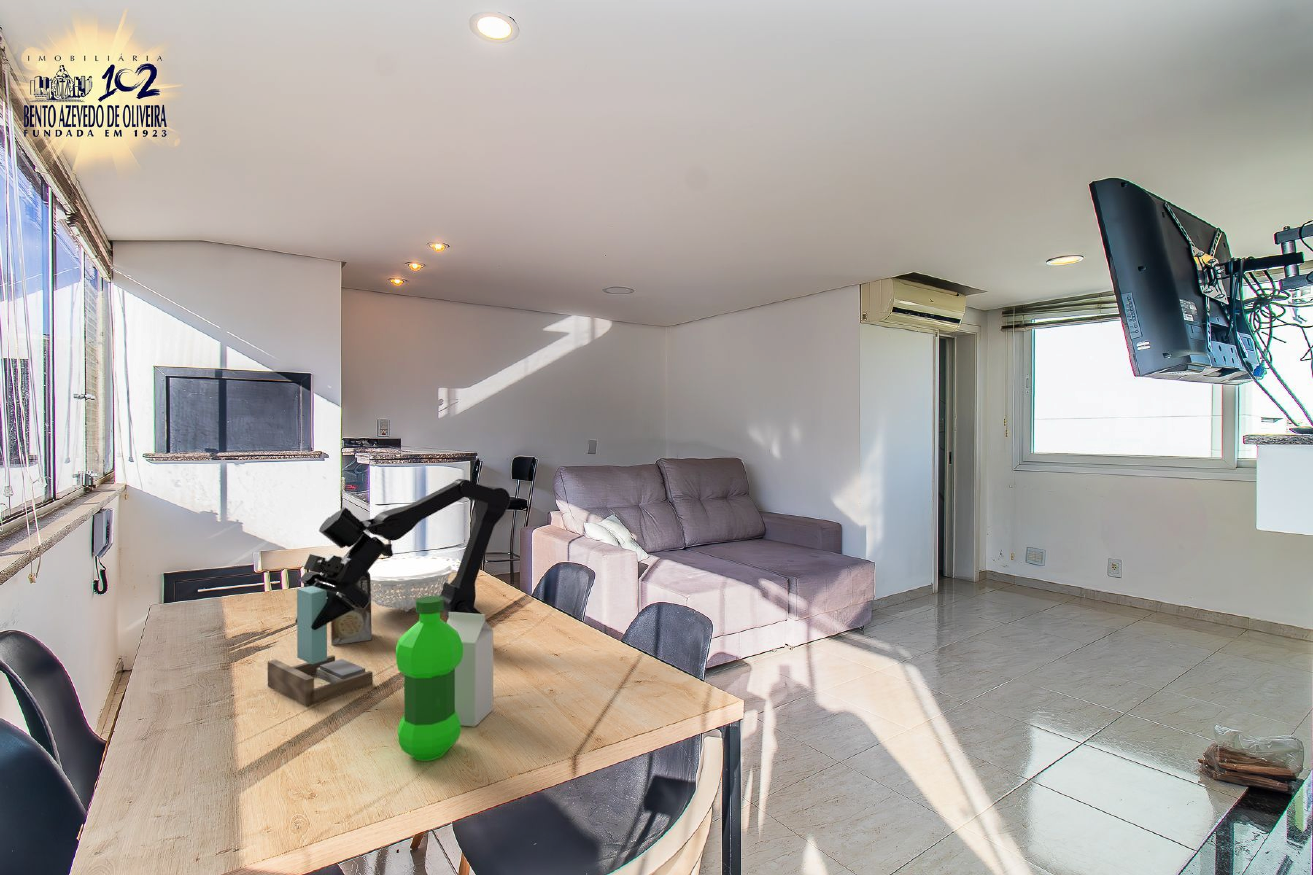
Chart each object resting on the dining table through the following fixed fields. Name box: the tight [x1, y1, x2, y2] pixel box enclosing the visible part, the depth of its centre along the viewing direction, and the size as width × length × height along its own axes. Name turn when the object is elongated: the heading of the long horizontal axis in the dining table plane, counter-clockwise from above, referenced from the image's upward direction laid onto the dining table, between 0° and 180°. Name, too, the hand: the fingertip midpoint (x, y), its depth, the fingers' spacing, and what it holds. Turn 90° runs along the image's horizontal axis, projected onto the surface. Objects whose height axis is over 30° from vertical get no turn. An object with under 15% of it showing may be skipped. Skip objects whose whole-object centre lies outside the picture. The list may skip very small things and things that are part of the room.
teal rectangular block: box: [296, 586, 328, 664], centre depth 130 cm, size 6×3×14 cm, turn 54°
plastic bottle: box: [395, 595, 463, 762], centre depth 105 cm, size 10×10×25 cm
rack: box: [267, 654, 374, 707], centre depth 132 cm, size 16×13×5 cm
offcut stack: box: [315, 658, 366, 684], centre depth 135 cm, size 11×5×2 cm, turn 54°
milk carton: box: [446, 612, 494, 727], centre depth 118 cm, size 7×7×19 cm
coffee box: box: [330, 571, 373, 646], centre depth 160 cm, size 9×6×16 cm
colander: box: [368, 555, 461, 613], centre depth 183 cm, size 32×32×13 cm
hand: (304, 625), depth 129 cm, fingers closed on teal rectangular block, 6 cm apart
